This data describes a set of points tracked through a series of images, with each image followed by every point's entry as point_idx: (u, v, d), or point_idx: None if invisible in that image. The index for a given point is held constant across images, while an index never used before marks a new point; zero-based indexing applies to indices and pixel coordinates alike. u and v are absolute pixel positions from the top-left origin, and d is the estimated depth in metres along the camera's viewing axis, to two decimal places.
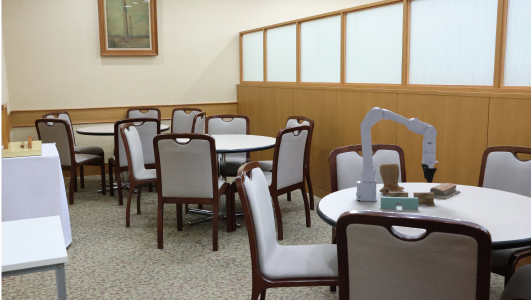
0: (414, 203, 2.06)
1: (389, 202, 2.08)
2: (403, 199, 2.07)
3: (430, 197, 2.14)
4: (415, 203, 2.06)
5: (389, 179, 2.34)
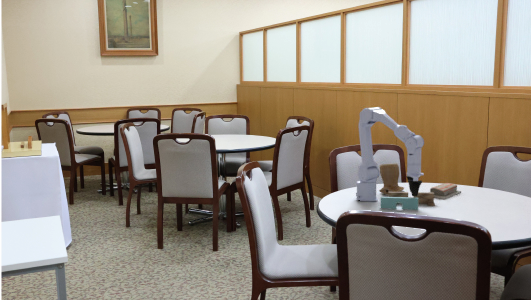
0: (414, 203, 2.06)
1: (389, 202, 2.08)
2: (403, 199, 2.07)
3: (430, 197, 2.14)
4: (415, 203, 2.06)
5: (389, 179, 2.34)
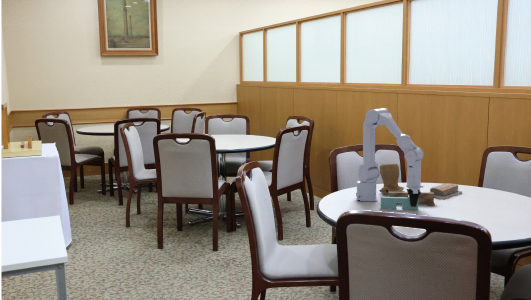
0: None
1: (389, 202, 2.08)
2: (403, 199, 2.07)
3: (430, 197, 2.14)
4: None
5: (389, 179, 2.34)
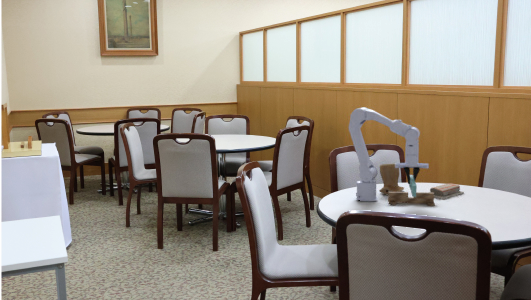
0: None
1: None
2: (414, 180, 2.10)
3: (430, 197, 2.14)
4: None
5: (389, 179, 2.34)
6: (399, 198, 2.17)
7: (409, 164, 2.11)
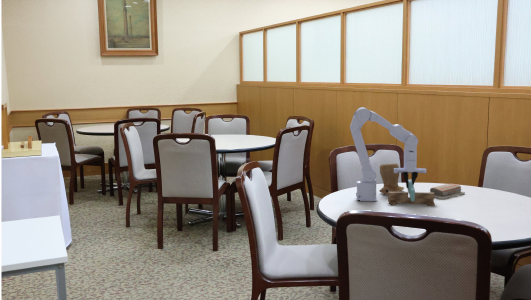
0: None
1: None
2: (412, 184, 2.17)
3: (430, 197, 2.14)
4: None
5: (389, 179, 2.34)
6: (399, 198, 2.17)
7: (407, 169, 2.18)
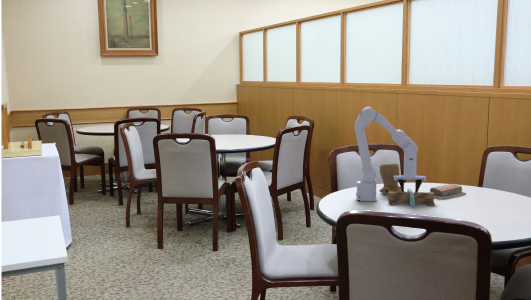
0: None
1: None
2: None
3: (430, 197, 2.14)
4: None
5: (389, 179, 2.34)
6: (399, 198, 2.17)
7: (407, 177, 2.19)
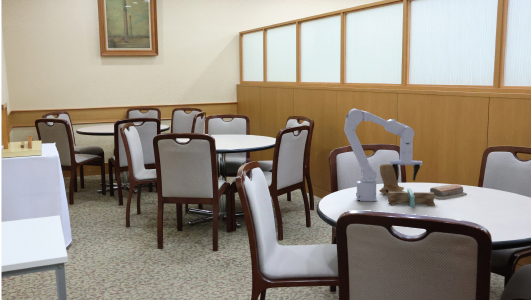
0: None
1: None
2: None
3: (430, 197, 2.14)
4: None
5: (389, 179, 2.34)
6: (399, 198, 2.17)
7: (403, 161, 2.19)
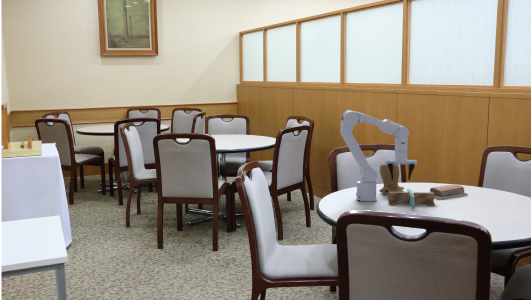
0: None
1: None
2: None
3: (430, 197, 2.14)
4: None
5: (389, 179, 2.34)
6: (399, 198, 2.17)
7: (398, 161, 2.20)
